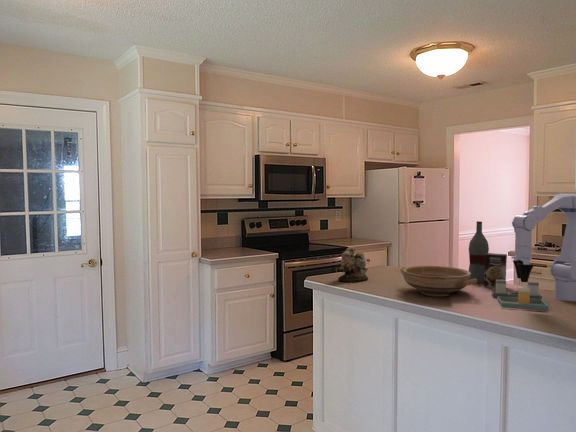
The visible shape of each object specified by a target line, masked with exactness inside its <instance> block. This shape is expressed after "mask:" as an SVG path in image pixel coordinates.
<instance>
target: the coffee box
mask: <svg viewBox="0 0 576 432" xmlns="http://www.w3.org/2000/svg"><path fill="white" fill-rule="evenodd" d="M507 262H508V254H506V253H505V254H504V253H493V252H492V253H491V252H488V253H486V254H485V271H484V284H483V287H484V288H493V289H496V280H506V281H507Z"/></svg>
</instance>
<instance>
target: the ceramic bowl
mask: <svg viewBox="0 0 576 432" xmlns="http://www.w3.org/2000/svg"><path fill="white" fill-rule="evenodd" d="M399 271H400V274H401V275H402V276H403V278H404V281H405V282H406V284H407V285H409V286H410V287H412V288H413V289H414V288H415V289H416V290H418V291H419V292H420V294H422V295H424V296H429V297H430V296H431V297H438V298H439V297H449V296H451V293H454V292H457V291H460V290H464V289H465V288H466V287H467V286H471V285H472V286H473V285H474V284H476V283H477V279H471V280H470V275H471V273H470V272H469V270H466V269H464V268H458V267H453V266H445V265H444V266H443V265H414V266H408V267H407V266H406V267H403V266H402V267H401V268H400V269H399Z"/></svg>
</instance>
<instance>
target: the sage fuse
mask: <svg viewBox="0 0 576 432" xmlns="http://www.w3.org/2000/svg"><path fill="white" fill-rule="evenodd" d="M495 291H496V293H499V294H506V292H507V279H506V280H496V288H495Z"/></svg>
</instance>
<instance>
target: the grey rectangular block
mask: <svg viewBox="0 0 576 432" xmlns="http://www.w3.org/2000/svg"><path fill="white" fill-rule="evenodd" d="M539 285H540V282H538V281H532V280H531V281H530V280H528V282H527V287H528V288H530V295H532V296H538V294H539V289H540V287H539Z"/></svg>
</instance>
